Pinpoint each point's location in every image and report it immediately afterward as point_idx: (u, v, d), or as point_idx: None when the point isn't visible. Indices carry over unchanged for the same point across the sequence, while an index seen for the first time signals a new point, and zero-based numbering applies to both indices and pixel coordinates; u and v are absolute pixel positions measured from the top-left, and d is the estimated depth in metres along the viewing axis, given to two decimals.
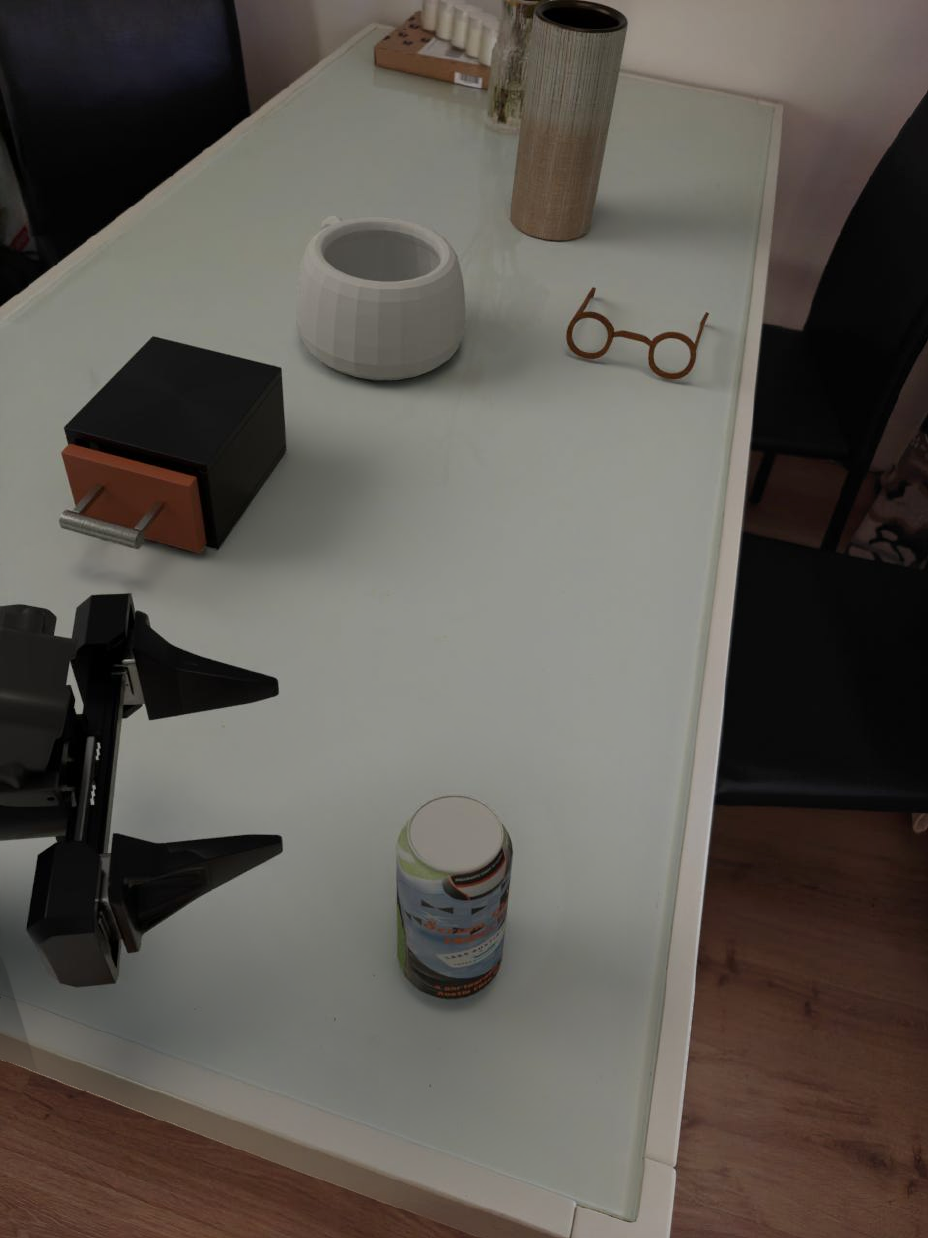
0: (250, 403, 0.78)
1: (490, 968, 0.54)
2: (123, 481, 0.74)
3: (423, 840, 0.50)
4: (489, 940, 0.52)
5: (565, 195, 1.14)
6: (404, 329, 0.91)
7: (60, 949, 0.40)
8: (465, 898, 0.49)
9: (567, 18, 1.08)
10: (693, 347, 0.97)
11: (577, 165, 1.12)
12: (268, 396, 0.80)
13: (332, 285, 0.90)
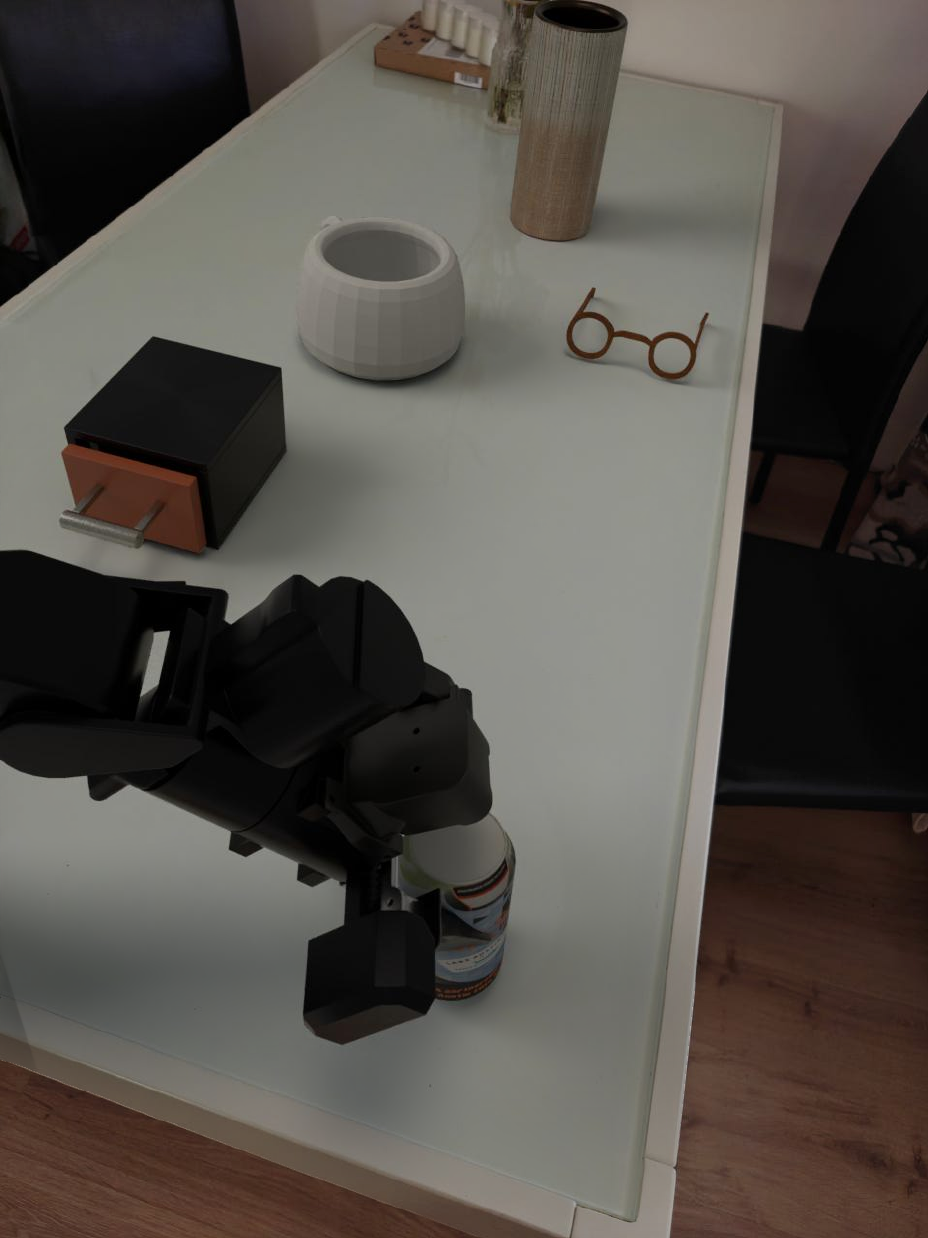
0: (250, 403, 0.78)
1: (491, 971, 0.54)
2: (123, 481, 0.74)
3: (425, 849, 0.49)
4: (490, 946, 0.52)
5: (565, 195, 1.14)
6: (404, 329, 0.91)
7: (379, 1013, 0.41)
8: (468, 909, 0.48)
9: (567, 18, 1.08)
10: (693, 347, 0.97)
11: (577, 165, 1.12)
12: (268, 396, 0.80)
13: (332, 285, 0.90)
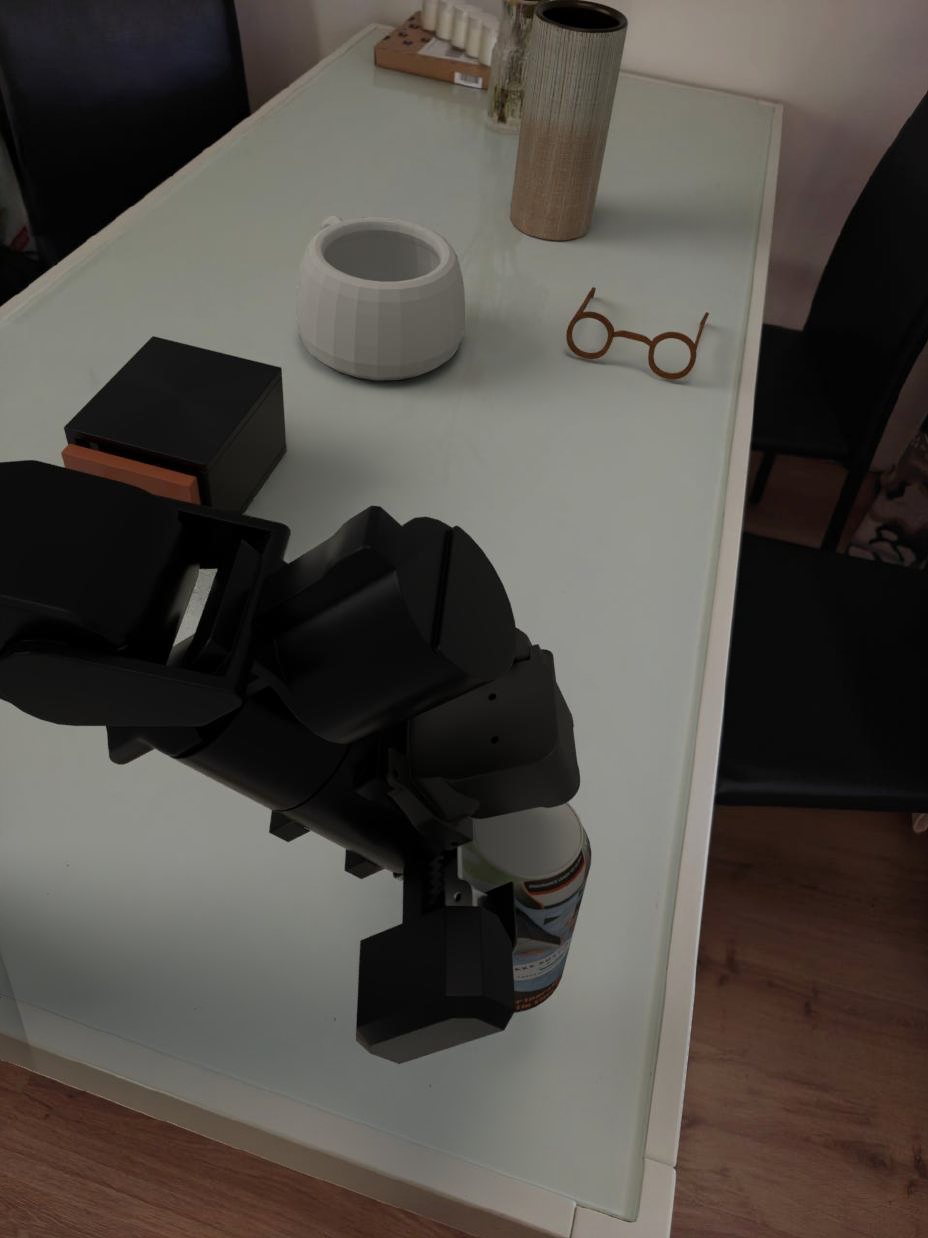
0: (250, 403, 0.78)
1: (554, 979, 0.48)
2: (123, 481, 0.74)
3: (490, 838, 0.43)
4: (558, 951, 0.46)
5: (565, 195, 1.14)
6: (404, 329, 0.91)
7: (449, 1027, 0.35)
8: (540, 907, 0.42)
9: (567, 18, 1.08)
10: (693, 347, 0.97)
11: (577, 165, 1.12)
12: (268, 396, 0.80)
13: (332, 285, 0.90)
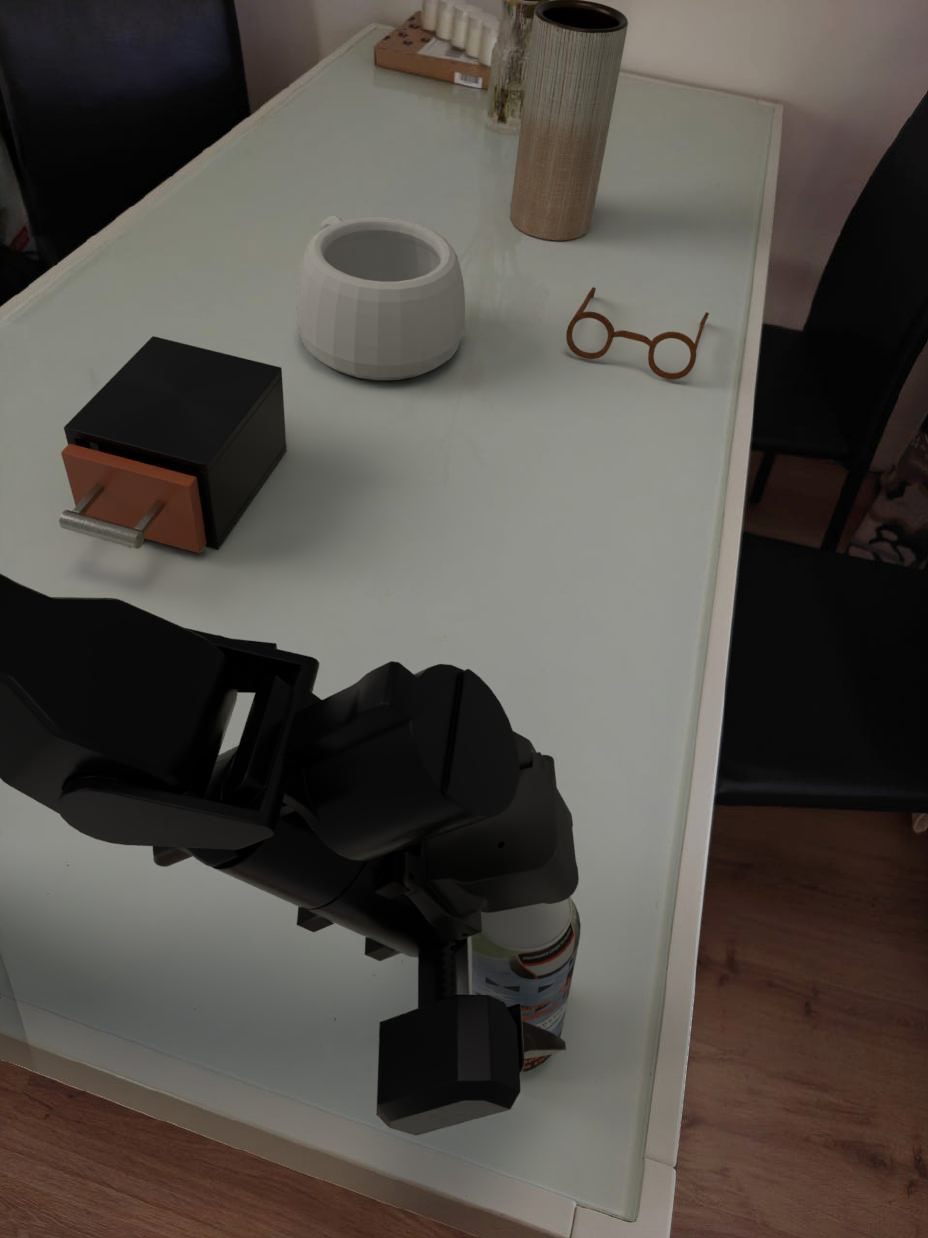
0: (250, 403, 0.78)
1: None
2: (123, 481, 0.74)
3: (488, 914, 0.47)
4: (553, 1015, 0.50)
5: (565, 195, 1.14)
6: (404, 329, 0.91)
7: (461, 1108, 0.39)
8: (533, 977, 0.46)
9: (567, 18, 1.08)
10: (693, 347, 0.97)
11: (577, 165, 1.12)
12: (268, 396, 0.80)
13: (332, 285, 0.90)
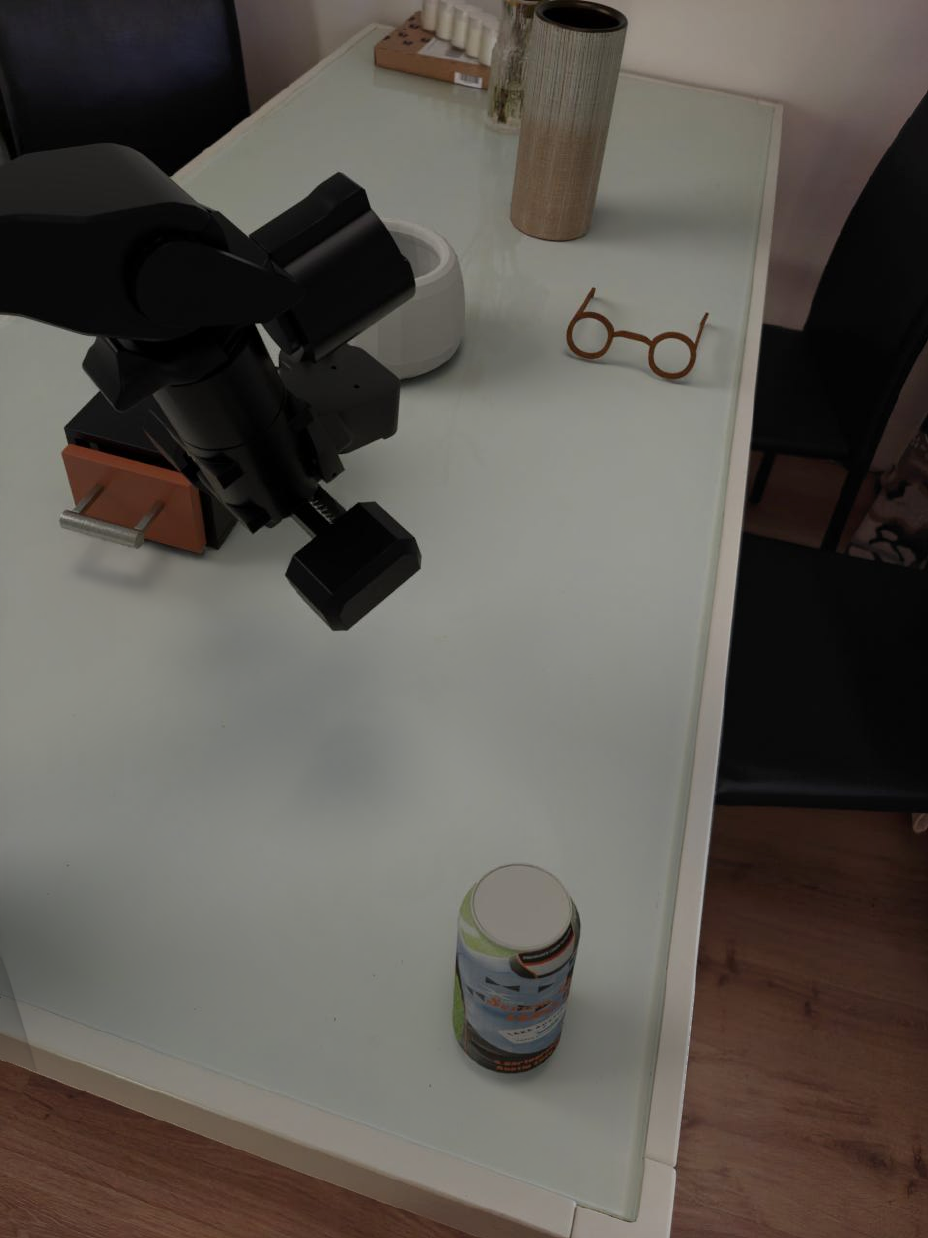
0: None
1: (552, 1042, 0.52)
2: (123, 481, 0.74)
3: (488, 913, 0.47)
4: (553, 1015, 0.50)
5: (565, 195, 1.14)
6: (404, 329, 0.91)
7: (396, 569, 0.51)
8: (533, 977, 0.46)
9: (567, 18, 1.08)
10: (693, 347, 0.97)
11: (577, 165, 1.12)
12: None
13: None
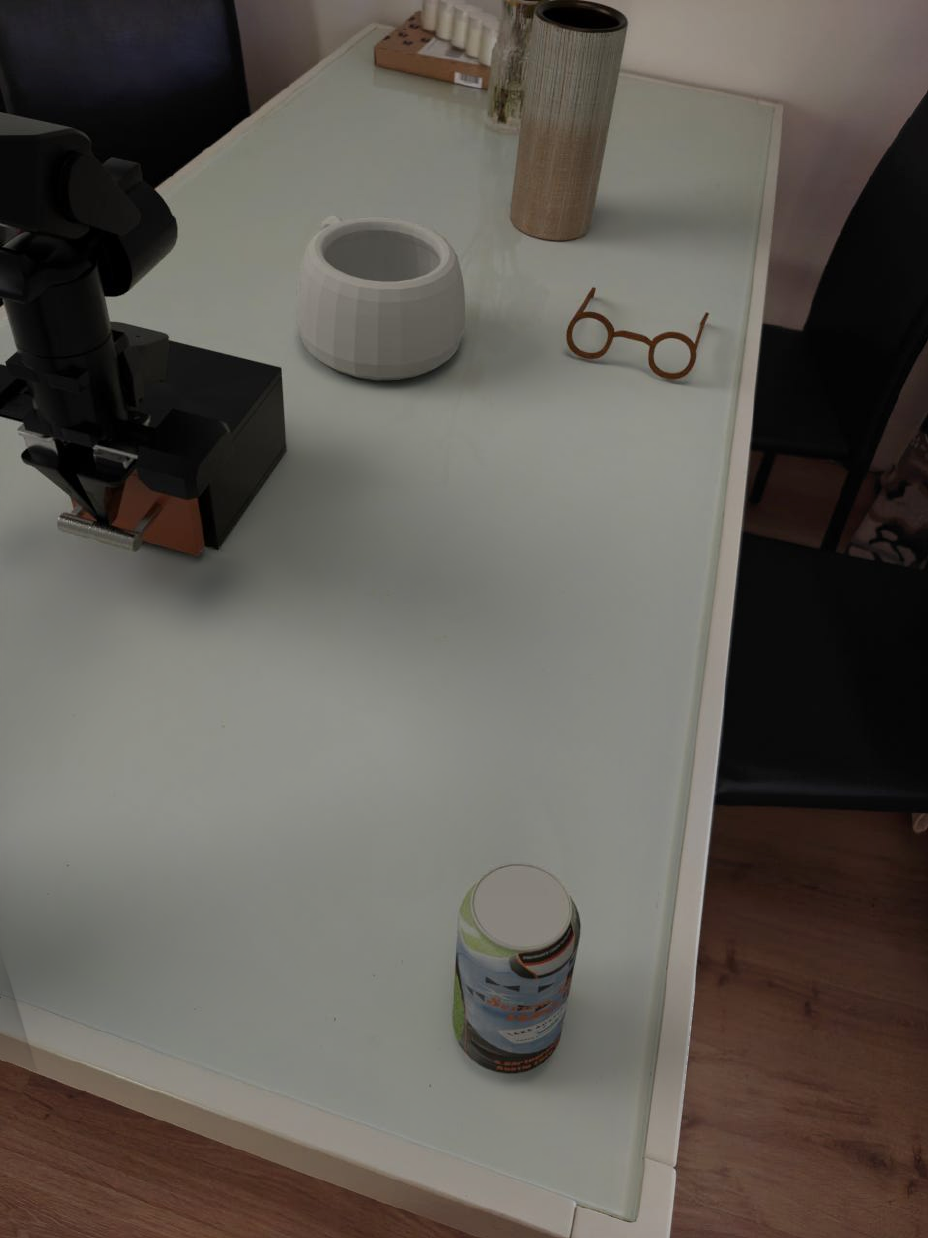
0: (250, 403, 0.78)
1: (552, 1042, 0.52)
2: None
3: (488, 913, 0.47)
4: (553, 1015, 0.50)
5: (565, 195, 1.14)
6: (404, 329, 0.91)
7: (222, 444, 0.66)
8: (533, 977, 0.46)
9: (567, 18, 1.08)
10: (693, 347, 0.97)
11: (577, 165, 1.12)
12: (268, 396, 0.80)
13: (332, 285, 0.90)
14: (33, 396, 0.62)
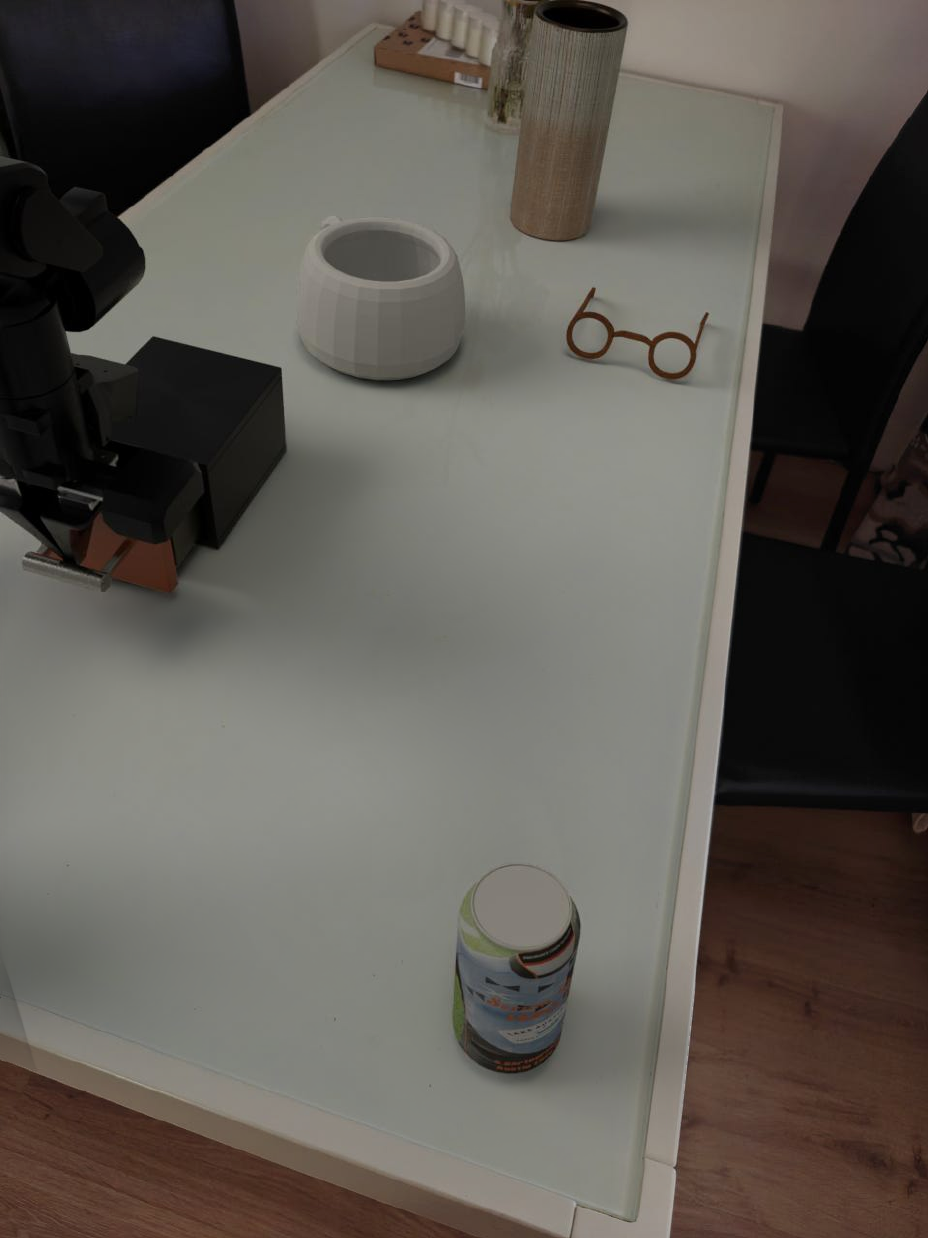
0: (250, 403, 0.78)
1: (552, 1042, 0.52)
2: None
3: (488, 913, 0.47)
4: (553, 1015, 0.50)
5: (565, 195, 1.14)
6: (404, 329, 0.91)
7: (192, 485, 0.63)
8: (533, 977, 0.46)
9: (567, 18, 1.08)
10: (693, 347, 0.97)
11: (577, 165, 1.12)
12: (268, 396, 0.80)
13: (332, 285, 0.90)
14: None
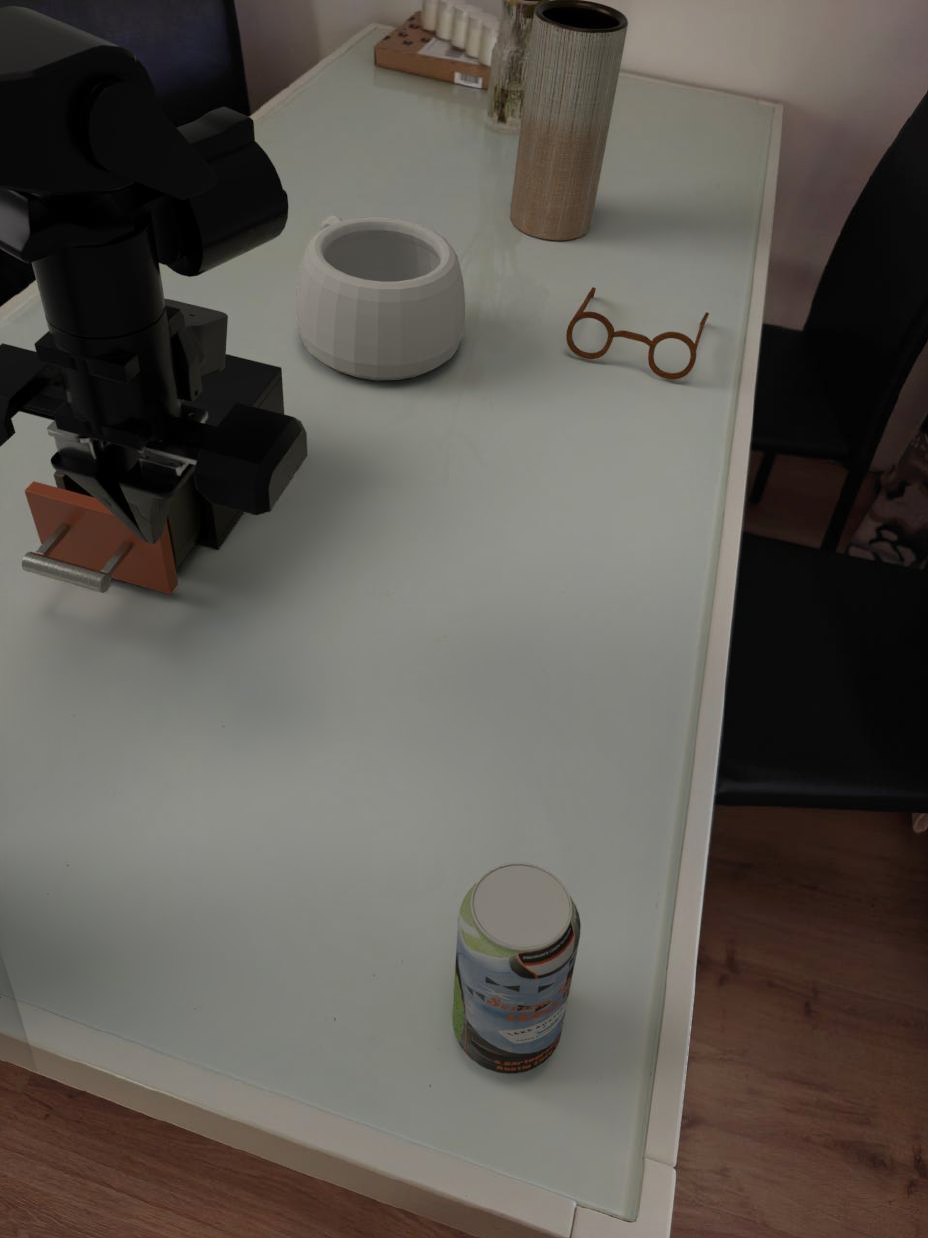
0: (250, 403, 0.78)
1: (552, 1042, 0.52)
2: (90, 520, 0.70)
3: (488, 913, 0.47)
4: (553, 1015, 0.50)
5: (565, 195, 1.14)
6: (404, 329, 0.91)
7: (297, 446, 0.54)
8: (533, 977, 0.46)
9: (567, 18, 1.08)
10: (693, 347, 0.97)
11: (577, 165, 1.12)
12: (268, 396, 0.80)
13: (332, 285, 0.90)
14: (68, 387, 0.50)
